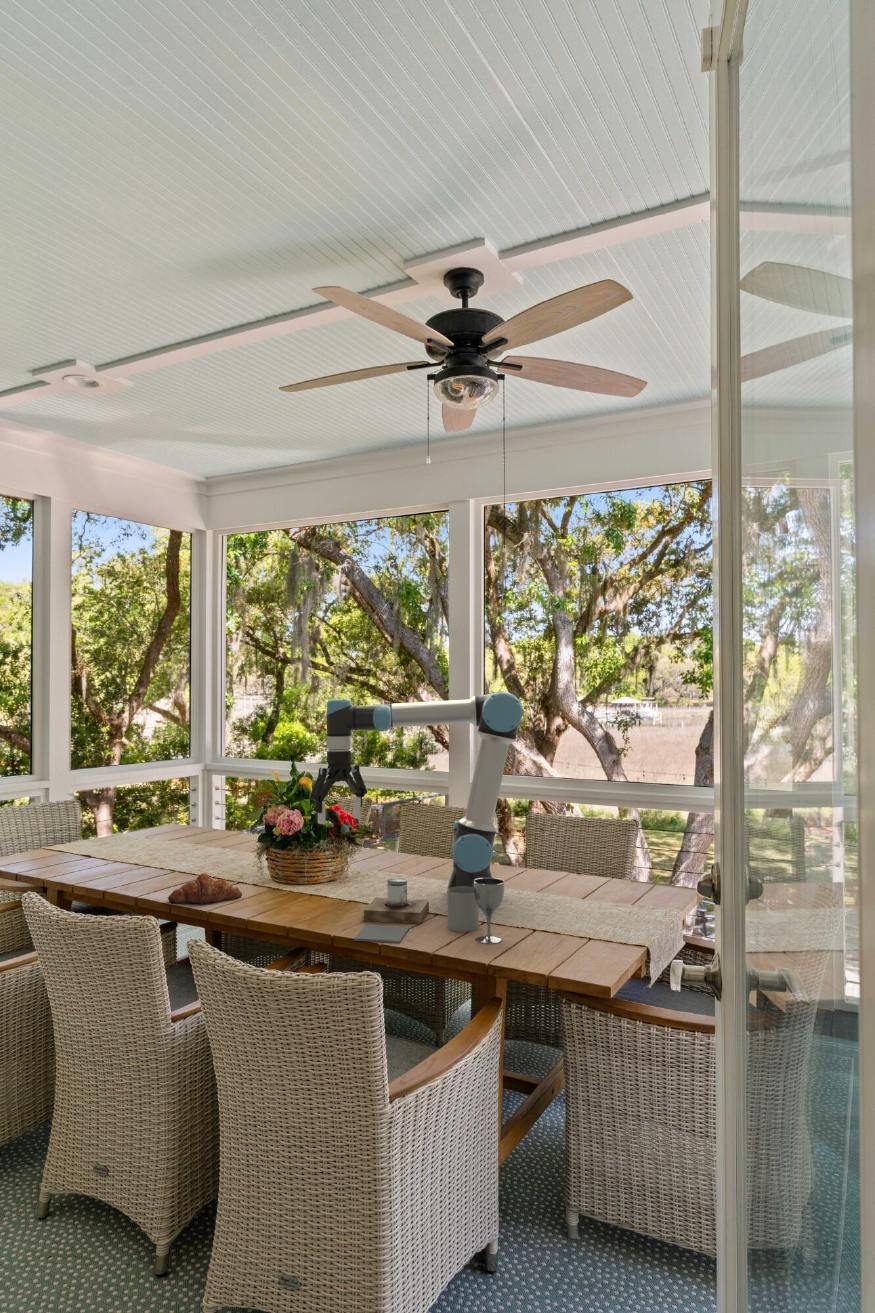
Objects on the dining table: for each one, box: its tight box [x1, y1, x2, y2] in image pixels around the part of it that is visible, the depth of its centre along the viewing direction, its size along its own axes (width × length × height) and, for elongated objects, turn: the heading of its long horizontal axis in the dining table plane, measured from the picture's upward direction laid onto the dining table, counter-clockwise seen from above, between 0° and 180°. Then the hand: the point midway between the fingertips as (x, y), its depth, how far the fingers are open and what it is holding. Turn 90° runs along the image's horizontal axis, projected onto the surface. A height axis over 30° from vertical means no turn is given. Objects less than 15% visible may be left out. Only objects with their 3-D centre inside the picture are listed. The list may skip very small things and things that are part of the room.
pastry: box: [167, 872, 243, 905], centre depth 253 cm, size 17×15×8 cm
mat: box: [353, 924, 410, 944], centre depth 217 cm, size 12×12×1 cm
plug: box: [386, 877, 408, 908], centre depth 236 cm, size 6×6×10 cm
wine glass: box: [474, 877, 506, 945], centre depth 214 cm, size 8×8×15 cm
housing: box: [363, 897, 430, 925], centre depth 236 cm, size 16×14×3 cm
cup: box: [447, 886, 480, 933], centre depth 225 cm, size 8×8×10 cm
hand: (339, 821), depth 249 cm, fingers open, 13 cm apart
